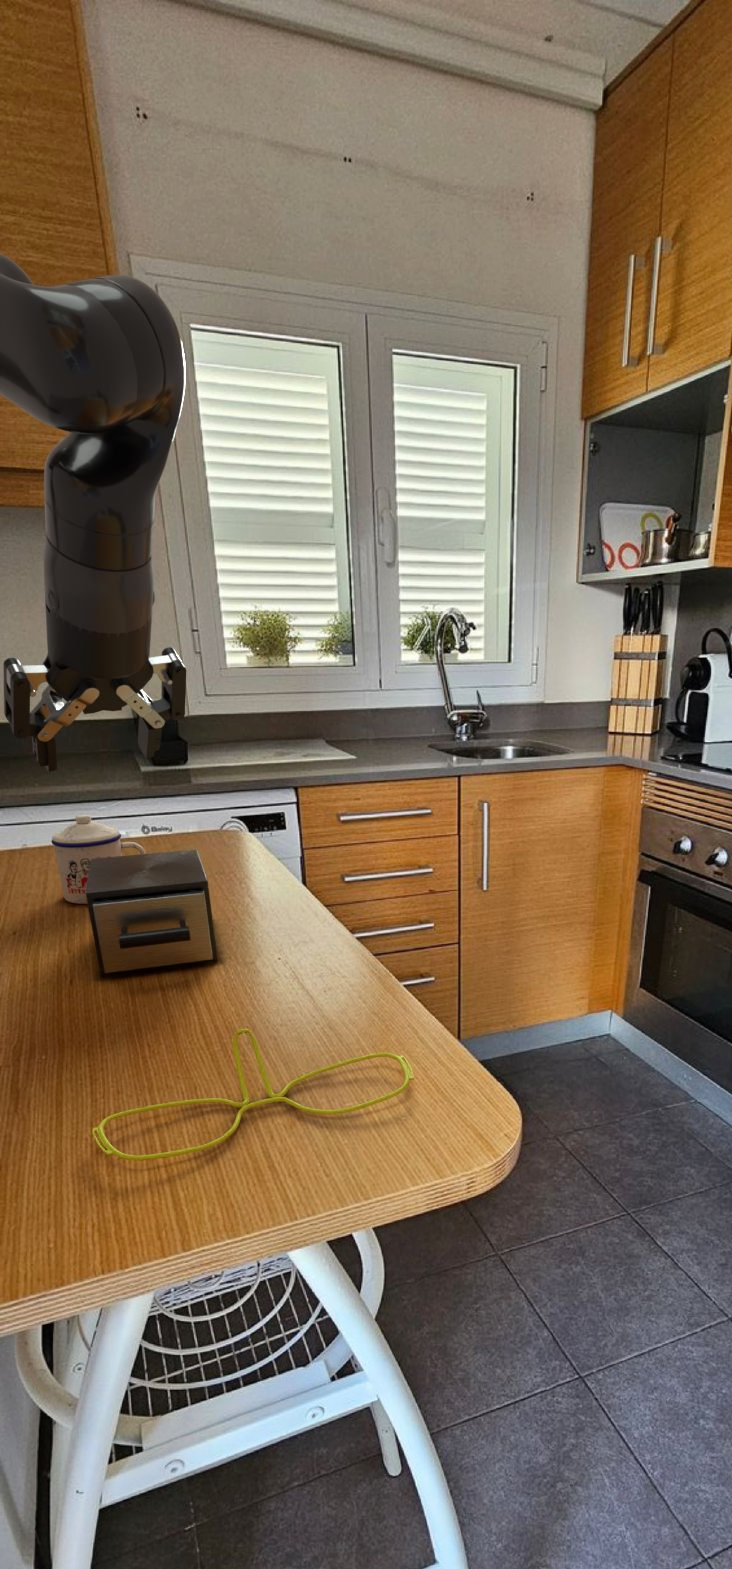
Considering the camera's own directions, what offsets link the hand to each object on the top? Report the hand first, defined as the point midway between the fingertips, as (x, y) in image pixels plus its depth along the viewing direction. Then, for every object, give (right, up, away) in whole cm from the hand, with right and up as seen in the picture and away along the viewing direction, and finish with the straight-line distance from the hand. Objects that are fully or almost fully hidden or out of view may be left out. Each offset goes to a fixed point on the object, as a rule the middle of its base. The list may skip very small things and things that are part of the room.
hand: (98, 758), depth 76 cm
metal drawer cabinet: (-4, -16, +26) cm, 31 cm away
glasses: (+17, -30, -9) cm, 36 cm away
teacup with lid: (-18, -8, +46) cm, 50 cm away
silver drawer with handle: (-2, -17, +21) cm, 27 cm away
